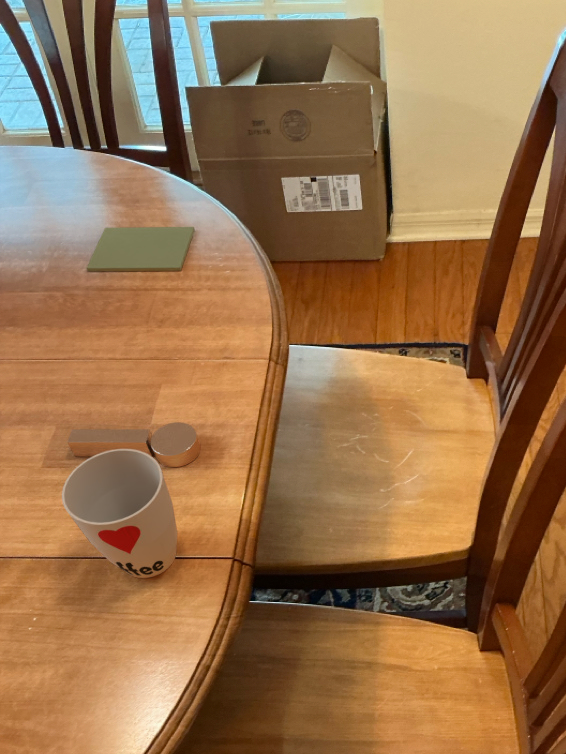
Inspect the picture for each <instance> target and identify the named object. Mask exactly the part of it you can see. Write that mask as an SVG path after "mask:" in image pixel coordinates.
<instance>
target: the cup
mask: <svg viewBox="0 0 566 754" xmlns="http://www.w3.org/2000/svg"><path fill="white" fill-rule="evenodd" d="M61 501H62V506H63V508H64V510H65V511H66V512H67V513H68V515H69V516H70V518H71V519H72V520H73V522H74V523H75V524H76V526H77V527H78V529H79V530H80V531H81V532H82V533H83V535H84V536H85V538H86V539H87V540H88V542H89V543H90V544H91V545H92V546H93V547H94V548H95V549H96V550H97V551H98V552H99V553H100V554H101V555H102V556H103V557H104V558H106V560H107V561H108V562H110V564H113V565H114V566H115V567H116V568H118V569H120V570H122V571H123V572H125V573H126V574H128V575H129V576H131V577H134V578H137V579H149V578H153V577H156V576H159V575H160V574H162V573H164V572H165V571H166V570H168V569H169V568H170V567H171V566H172V565H173V563H174V561H175V560H176V556H177V547H178V527H177V521H176V516H175V509H174V504H173V500H172V498H171V494H170V492H169V488H168V486H167V483H166V479H165V477H164V474H163V470H162V467H161V466H160V463H159V462H158V460H157V459H156V458H154V457H153V456H152V457H151V456H150V455H148V454H146V453H144V452H142V451H138V450H133V449H115V450H110V451H106V452H103V453H100V454H97V455H95V456H93V457H89V458H87V459H86V460H84V461H82V462H81V463H80V464H79V465H77V466H76V467H75V468H74V469H73V470H72V471H71V472H70V473H69V475H68V477H67V478H66V480H65V482H64V484H63V486H62V490H61Z"/></svg>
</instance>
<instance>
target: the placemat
mask: <svg viewBox="0 0 566 754" xmlns="http://www.w3.org/2000/svg"><path fill="white" fill-rule="evenodd" d="M195 230H196V229H195V226H143V227H142V226H140V227H138V226H137V227H130V226H129V227H104V229H103V231H102V234H101V236H100V237H99V240H98V242H97V244H96V246H95V249H94V251H93V253H92V254H91V255H92V256H91V258H90V260H89V261H88V264H87V266H86V271H87V272H181V271H182V269H183V266H184V264H185V260H186V257H187V254H188V252H189V249H190V246H191V242H192V240H193V237H194V234H195Z"/></svg>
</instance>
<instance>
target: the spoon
mask: <svg viewBox="0 0 566 754" xmlns="http://www.w3.org/2000/svg"><path fill="white" fill-rule="evenodd" d="M66 443H67V445H68V446H69V449H70V450H71V452H72V453H73V455H74V457H80V458H82V457H86V458H88V457H89V458H91V457H93V456H95V455H97V454H100V453H103V452H106V451H110V450H115V449H133V450H138V451H142V452H144V453H146V454H148V455H150V456H151V457H153V455H154V456H155V460H156V461H157V462H158V464H161V465H162V466H164V467H166V468H180V467H184V466H186V465H189V464H191V463H192V462H194V461H195V460H196V459H197V458H198V456H199V455H200V453H201V450H202V449H201V448H202V446H201V442H200V440H199V437H198V433H197V431H196V429H195V428H194V427H193V425H191V424H189V423H186V422H182V421H181V422H180V421H174V422H170V423H169V422H168V423H166V424H164V425H162V426H160V427H159V428H157V430H156V431H154V432H153V434H152V432H151V429H149V428H147V429H146V428H143V429H142V428H141V429H135V428H132V429H131V428H130V429H127V428H125V429H124V428H120V429H119V428H118V429H117V428H114V429H113V428H112V429H111V428H110V429H109V428H108V429H107V428H96V429H95V428H84V429H83V428H73V429H71V431H70V434H69V436H68V439H67V442H66Z"/></svg>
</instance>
